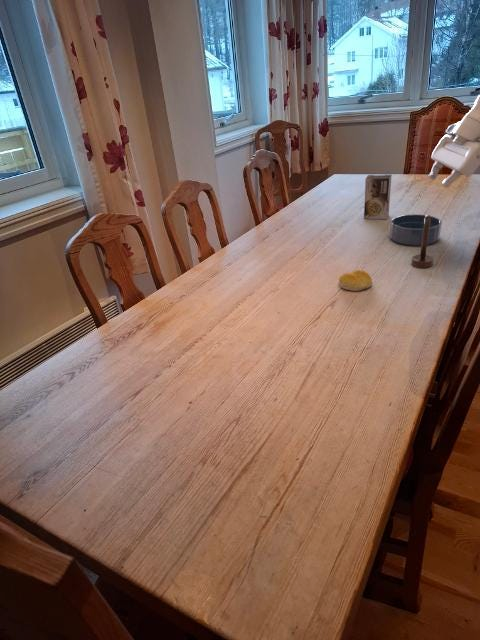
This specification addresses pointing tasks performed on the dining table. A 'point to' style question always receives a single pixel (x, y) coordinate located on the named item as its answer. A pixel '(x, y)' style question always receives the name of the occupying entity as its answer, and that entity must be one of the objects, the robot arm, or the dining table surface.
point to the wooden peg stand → (423, 248)
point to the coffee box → (377, 196)
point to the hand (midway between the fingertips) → (437, 182)
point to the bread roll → (355, 280)
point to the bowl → (413, 229)
